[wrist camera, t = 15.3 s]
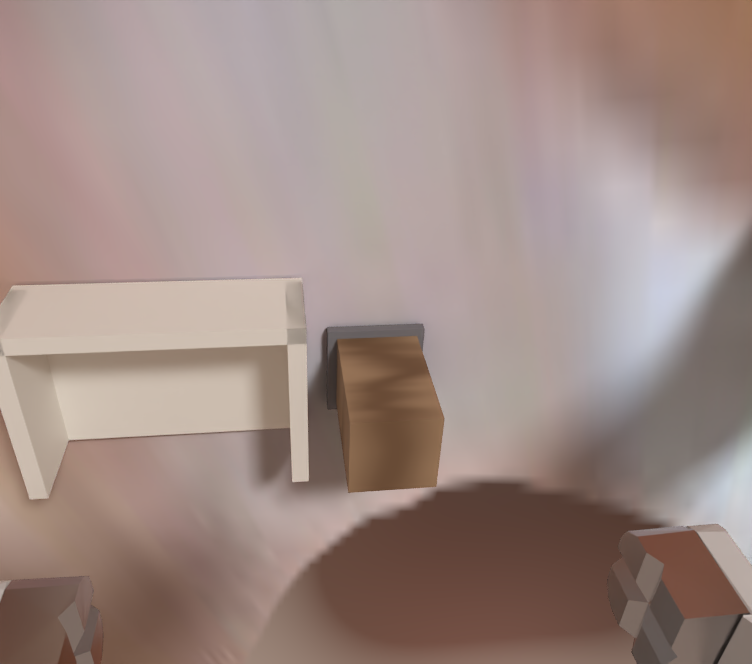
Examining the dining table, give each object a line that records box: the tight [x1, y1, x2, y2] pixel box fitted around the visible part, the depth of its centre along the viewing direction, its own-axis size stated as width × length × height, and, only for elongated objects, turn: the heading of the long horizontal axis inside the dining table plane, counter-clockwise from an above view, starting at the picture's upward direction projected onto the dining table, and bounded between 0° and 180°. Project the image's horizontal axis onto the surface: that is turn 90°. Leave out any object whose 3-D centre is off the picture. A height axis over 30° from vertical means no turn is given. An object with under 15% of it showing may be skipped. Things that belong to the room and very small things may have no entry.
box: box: [0, 278, 309, 499], centre depth 40 cm, size 16×11×6 cm
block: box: [336, 336, 444, 493], centre depth 41 cm, size 5×5×8 cm
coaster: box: [327, 324, 424, 409], centre depth 44 cm, size 6×6×1 cm
